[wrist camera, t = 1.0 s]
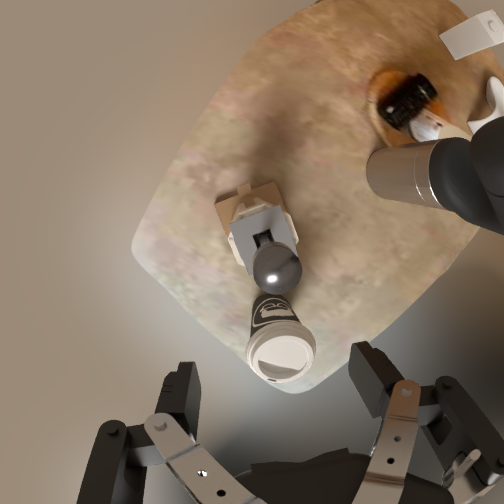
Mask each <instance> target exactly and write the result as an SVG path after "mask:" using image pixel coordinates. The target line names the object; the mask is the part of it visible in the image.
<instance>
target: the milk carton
mask: <svg viewBox="0 0 504 504" xmlns="http://www.w3.org/2000/svg"><path fill="white" fill-rule="evenodd" d="M439 37H440V39H441V40H442V41H443V43H444V44H445V46H446V47H447V49H448V50H449V52H450V53H451V55H452V56H453V58H454V59H455V60H458V59H461V58H463V57H465V56H468V55H470V54H473V53H475V52H478V51H481V50H483V49H486V48H489V47H491V46H494V45H497V44H500V43H503V42H504V25H503V23H502V22H501V20H500V19H499V17H498V16H497V14H496V13H495V12H494V10H493V9H492V10H490V11H486V12H483V13H480V14H478V15H475V16H474V17H471V18H469V19H467V20H466V21H464V22H462V23H460V24H458V25H456V26H454V27H453V28H451V29H449V30H447V31H445V32H444V33H442V34H440V35H439Z"/></svg>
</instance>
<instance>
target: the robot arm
mask: <svg viewBox="0 0 504 504" xmlns="http://www.w3.org/2000/svg"><path fill="white" fill-rule="evenodd" d="M366 172H367V179H368V182H369V185H370V187H371V188H372V190H373V191H374V192H375V193H376V194H377V195H378V196H380V197H382V198H384V199H389V200H395V201H400V202H406V203H412V204H417V205H422V206H428V207H433V208H438V209H443V210H448V211H452V212H455V213H456V214H458V215H459V216H460V217H461V218H462V219H464V220H465V221H467V222H469V223H472V224H474V225H477V226H480V227H483V228H486V229H488V230H491V231H494V232H496V233H499V234H502V235H504V116H502V117H498V118H496V119H494V120H491V121H489V122H487V123H486V124H484V125H483V126H482V127H480V128H479V129H478V130H477V131H476V132H475V134H474V135H473V137H472V140H471V142H470V141H468V140H466V139H464V138H459V137H453V138H446V139H438V140H430V141H424V142H417V143H411V144H404V145H398V146H392V147H387V148H382V149H379V150H377V151H375V152H374V153H373V154H372V155H371V157H370V158H369V161H368V163H367V169H366ZM348 367H349V368H348V370H349V375H350V377H351V379H352V381H353V383H354V385H355V386H356V388H357V390H358V392H359V393H360V395H361V397H362V399H363V401H364V403H365V404H366V406H367V408H368V410H369V412H370V414H371V416H372V417H373V418H376V417H379V416H381V418H382V422H381V425H380V427H379V430H378V433H377V436H376V439H375V442H374V444H373V447H372V450H371V452H370V454H369V455H365V454H359V453H349V451H348V448H344V449H340V450H336V451H332V452H327V453H324V454H322V455H319V456H317V457H315V458H312V459H310V460H308V461H305V462H302V463H293V462H268V463H257V464H251V470H249V471H246V472H244V473H241V474H239V475H237V476H235V477H234V478H233V477H232V476H231V475H230V474H229V473H228V472H227V471H226V470H225V469H224V468H223V467H222V466H221V465H220V464H219V463H217V461H216V460H215V459H213V457H212V456H211V455H210V454H209V453H208V452H207V451H206V450H205V449H204V448H203V447H202V446H201V445H199V444H198V445H196V444H195V443H196V437H197V428H198V419H199V409H200V400H201V384H200V380H199V376H198V372H197V368H196V364H195V362H180V363H179V366H178V370H177V372H170V373H169V374H168V375H167V376H166V377H165V379H164V382H163V387H162V389H161V393H160V396H159V399H158V403H157V406H156V410H155V413H154V414H153V415H151V416H150V417H148V418H147V419H146V421H145V423H144V424H141V425H136V426H128V427H126V425H125V424H124V423H123V422H121V421H118V420H110V421H107V422H105V423H103V424H102V425H101V427H100V428H99V431H98V434H97V437H96V439H95V442H94V445H93V448H92V451H91V455H90V458H89V461H88V464H87V467H86V471H85V474H84V478H83V481H82V485H81V488H80V492H79V496H78V500H77V504H143V496H144V488H145V480H146V473H147V466H151V465H157V464H162V463H165V464H166V465H167V466H168V468H169V469H170V470H171V471H172V473H173V474H174V475H175V477H176V478H177V479H178V481H179V482H180V483H181V484H182V485H183V487H184V488H185V489H186V490H187V492H188V493H189V494H190V495H191V497H192V498H193V499H194V500H195V501H196V502H197V504H472V503H474V502H475V501H477V500H478V499H479V498H481V497H482V496H483V495H484V494H485V493H486V492H488V491H489V490H490V489H491V488H492V487H493V486H495V485H496V484H497V483H498V482H499V481H500V480H501V479H502V478H503V477H504V440H503V439H502V437H501V436H500V435H499V433H498V432H497V431H496V429H495V428H494V426H493V425H492V424H491V422H490V421H489V420H488V418H487V417H486V416H485V415H484V413H483V412H482V411H481V410H480V408H479V407H478V406H477V404H476V403H475V402H474V401H473V399H472V398H471V397H470V396H469V395H468V393H467V392H466V391H465V390H464V388H463V387H462V386H461V385H460V384H459V382H458V381H457V380H456V379H455V378H452V377H450V376H442V377H439V378H438V379H437V380H436V382H435V384H434V385H431V386H422V387H421V386H419V384H418V383H416V382H415V381H412V380H405V379H404V378H403V376H402V375H401V374H400V372H399V371H398V370H397V368H396V367H395V366H394V365H393V364H392V362H391V361H390V360H389V359H388V357H387V356H386V355H385V353H384V352H382V351H381V350H379V349H377V348H374V349H373V348H372V347H371V346H370V344H369V343H368V342H367V341H362V342H358V343H353V344H352V346H351V352H350V359H349V366H348ZM446 415H447V417H448V418H449V420H450V421H451V423H450V421H449V420H448V418H447V417H446ZM418 426H420V427H421V428H422V430H423V432H424V434H425V436H426V437H427V439H428V441H429V443H430V444H431V446H432V448H433V450H434V452H435V454H436V455H437V457H438V459H439V461H440V463H441V465H442V466H443V468H444V471H445V472H444V473H443V476H442V481H443V484H442V486H441V485H439V484H436V483H433V482H430V481H428V480H425V479H422V478H420V477H417V476H415V475H412V474H410V473H408V472H407V469H408V465H409V461H410V458H411V454H412V450H413V445H414V442H415V437H416V432H417V427H418Z"/></svg>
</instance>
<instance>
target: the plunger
mask: <svg viewBox="0 0 504 504" xmlns="http://www.w3.org/2000/svg"><path fill="white" fill-rule="evenodd" d="M252 236H253V239H254V241H255V244H256V246H257V250H256V252H255V254H254V256H253V259H252V268H253V274H254V279H255V282H256V284H257V285H258V286H259V287H260V289H262V290H263V291H265V292H267V293H269V294H274V295H278V294H284V293H287V292H289V291H290V290H292V289H293V288H294V287H295V286H296V285H297V284H298V282H299V280H300V278H301V274H302V267H301V263H300V260H299V259H298V257H297V256H296V255H295V253H294V252H293V251H292V250H291V248H290V247H289V246H287V245H286V244H284V243H281V242H276V241H274V239H273V237H272V234H271V231H270V229H267V230H265V231H262V232H260V233H257V234H254V235H252Z"/></svg>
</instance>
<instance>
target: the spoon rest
mask: <svg viewBox="0 0 504 504" xmlns="http://www.w3.org/2000/svg"><path fill="white" fill-rule="evenodd" d="M486 97H487V101H488V103H489V105H490V107H491V108H492V109H493V113H492V114H491V115H490V116H488V117H487V118H484V119H482V120H476V121H468V125H469V127H470V129H471V131H472V133H473V135H474V134H475V132H476V131H477V130H478V129H479V128H480V127H482V126H483V125H484V124H486V123H487V122H489V121H491V120H494V119H496V118H498V117H502V116H504V86H503V85H502V83H501V82H500V81H499V80H498V79H497V78H496V77H494V76H492V77H490V78H489V80H488V82H487V87H486Z"/></svg>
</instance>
